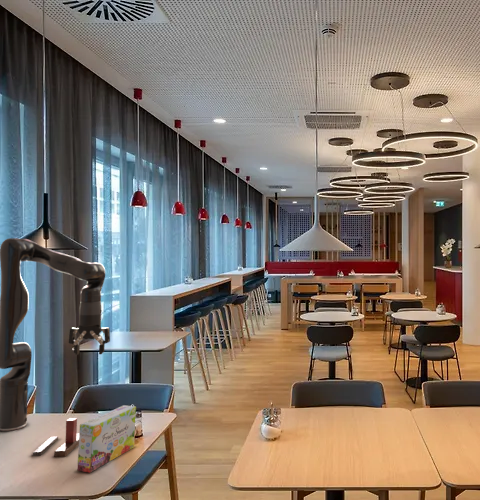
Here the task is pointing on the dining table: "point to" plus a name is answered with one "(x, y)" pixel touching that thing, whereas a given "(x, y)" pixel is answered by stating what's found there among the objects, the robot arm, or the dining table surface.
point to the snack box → (106, 438)
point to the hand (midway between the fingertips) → (89, 354)
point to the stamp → (69, 439)
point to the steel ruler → (45, 446)
